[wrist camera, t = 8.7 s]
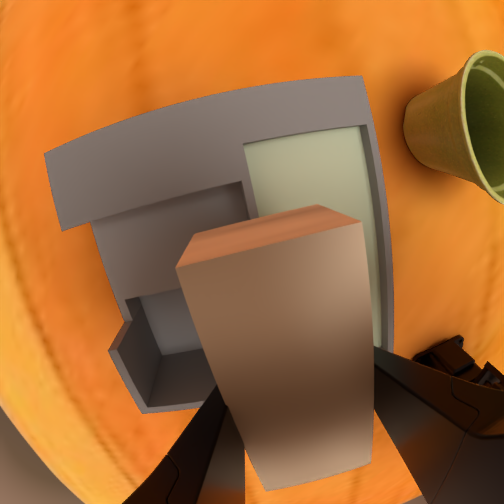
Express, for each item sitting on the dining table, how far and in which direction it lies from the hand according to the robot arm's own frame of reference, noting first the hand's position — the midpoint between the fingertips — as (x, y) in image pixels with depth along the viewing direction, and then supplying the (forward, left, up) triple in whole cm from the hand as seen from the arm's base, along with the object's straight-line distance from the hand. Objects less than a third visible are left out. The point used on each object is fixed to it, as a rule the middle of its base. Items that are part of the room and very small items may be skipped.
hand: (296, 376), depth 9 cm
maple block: (0, 0, -2) cm, 2 cm away
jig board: (+2, +1, -13) cm, 13 cm away
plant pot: (+7, -16, -13) cm, 21 cm away
